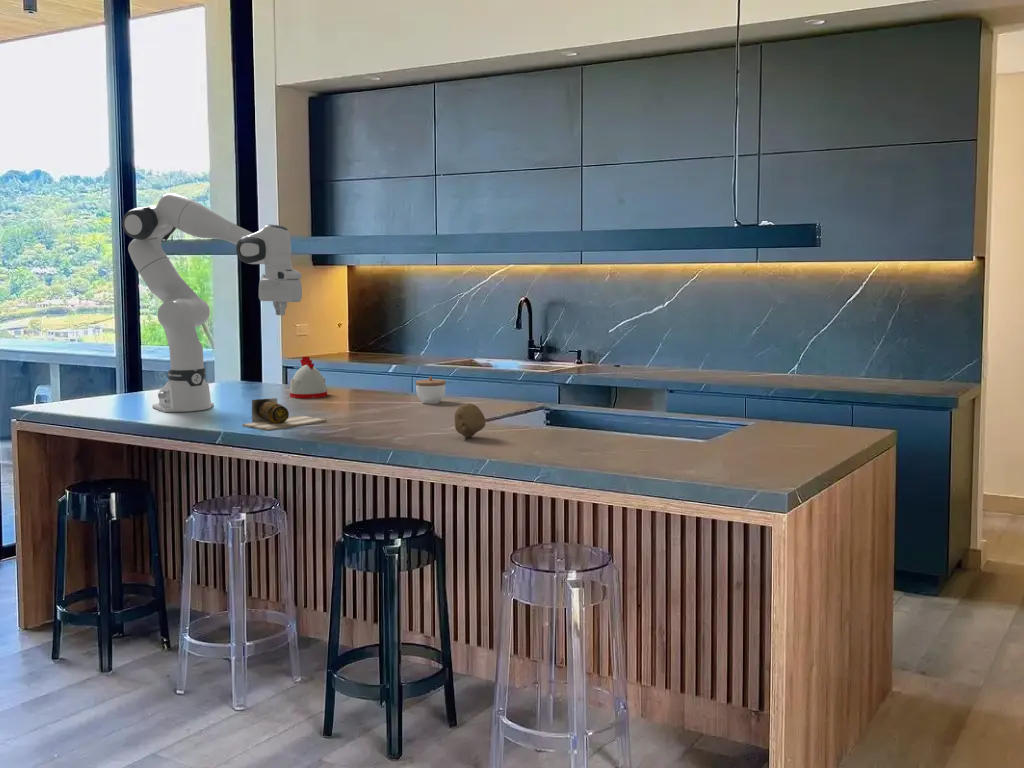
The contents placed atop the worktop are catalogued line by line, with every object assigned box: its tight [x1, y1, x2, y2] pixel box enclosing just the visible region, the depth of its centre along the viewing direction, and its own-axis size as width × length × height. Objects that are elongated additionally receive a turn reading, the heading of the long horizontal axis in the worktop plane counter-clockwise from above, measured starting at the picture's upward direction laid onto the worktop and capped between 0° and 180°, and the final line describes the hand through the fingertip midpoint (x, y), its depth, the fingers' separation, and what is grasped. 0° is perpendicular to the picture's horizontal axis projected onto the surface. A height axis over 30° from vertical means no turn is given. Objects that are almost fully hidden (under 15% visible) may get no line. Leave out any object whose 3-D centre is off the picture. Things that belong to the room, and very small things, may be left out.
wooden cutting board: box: [242, 415, 327, 431], centre depth 331 cm, size 14×22×1 cm, turn 137°
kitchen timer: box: [289, 356, 328, 399], centre depth 395 cm, size 14×14×15 cm
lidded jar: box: [415, 376, 447, 405], centre depth 373 cm, size 11×11×9 cm
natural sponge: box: [454, 403, 487, 439], centre depth 302 cm, size 9×9×10 cm
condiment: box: [251, 397, 290, 423], centre depth 330 cm, size 7×8×12 cm
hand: (280, 315), depth 349 cm, fingers closed
